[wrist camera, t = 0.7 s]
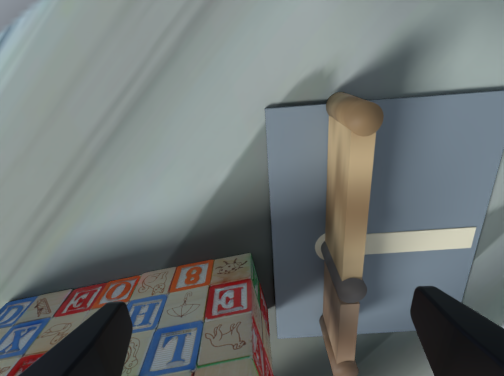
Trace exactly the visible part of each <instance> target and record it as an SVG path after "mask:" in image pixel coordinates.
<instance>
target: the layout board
mask: <svg viewBox="0 0 504 376" xmlns="http://www.w3.org/2000/svg"><path fill="white" fill-rule="evenodd" d="M367 101H370V102H373V103H376V104H377V105H379V106H380V107H381V109H382V111H383V115H384V118H383V123H382V125H381V127H380V128H379V129H378V130H377V131H376V139H375V149H374V160H373V170H372V181H371V191H370V201H369V212H368V222H367V233H366V243H365V254H364V264H363V275H362V279H363V281H364V283H365V284H366V286H367V294H366V296H365V297H364V298H363V299H362V300H360V301H359V303H360V306H359V317H358V327H357V334H367V333H385V332H402V331H416V329H415V327H414V324H413V322H412V319H411V315H410V308H411V303H412V299H413V294H414V290H415V288H416V287H418V286H435V287H437V288H438V289H440V290H442V291H443V292H445V293H447V294H448V295H450V296H451V297H453V298H455V299H456V300H458V301H460V302H462V298H463V295H464V291H465V287H466V284H467V280H468V276H469V273H470V269H471V266H472V262H473V258H474V255H475V251H476V247H477V244H478V240H479V237H480V233H481V229H482V226H483V222H484V218H485V215H486V211H487V208H488V204H489V200H490V197H491V193H492V189H493V186H494V182H495V179H496V175H497V171H498V168H499V164H500V160H501V157H502V153H503V150H504V90H498V91H484V92H471V93H458V94H445V95H432V96H419V97H406V98H392V99H379V100H367ZM265 119H266V137H267V156H268V174H269V192H270V211H271V229H272V248H273V266H274V284H275V303H276V321H277V337H278V339H281V338H298V337H315V336H323V334H322V331H321V327H320V323H319V319H320V317H321V316H322V315H323V292H324V261H325V260H324V257H323V255H322V252H321V245H322V243H323V242H324V241H325V225H326V192H327V159H328V126H329V115H328V113H327V111H326V104H314V105H300V106H287V107H274V108H265Z"/></svg>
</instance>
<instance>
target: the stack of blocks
mask: <svg viewBox="0 0 504 376" xmlns="http://www.w3.org/2000/svg"><path fill="white" fill-rule="evenodd" d="M116 301H123V302H125V303H126V305H127V308H128V311H129V314H130V317H131V321H132V324H133V331H132V336H131V340H130V344H129V348H128V352H127V356H126V359H125V363H124V367H123V371H122V375H121V376H274V375H273V367H272V357H271V347H270V339H269V338H270V333H269V322H268V309H267V306H266V302H265V299H264V295H263V292H262V288H261V285H260V283H259V280H258V277H257V273H256V269H255V266H254V262H253V259H252V255H251V253H247V254H242V255H237V256H231V257H226V258H221V259H216V260H207V261H202V262H197V263H192V264H187V265H182V266H178V267H172V268H166V269H161V270H156V271H151V272H146V273H143V274H142V275H139V276H134V277H129V278H124V279H119V280H114V281H109V282H108V283H102V284H97V285H92V286H88V287H83V288H78V289H75V290H73V289H68V290H64V291H59V292H54V293H49V294H44V295H40V296H35V297H30V298H25V299H21V300H16V301H11V302H8V303H6V304H5V305H4V306H3V307H2V308H1V309H0V376H18V375H19V374H21V373H22V372H23V371H24V370H25V369H27V368H28V367H29V366H30V365H31V364H33V363H34V362H35V361H36V360H38V359H39V358H40V357H41V356H42V355H44V354H45V353H46V352H47V351H49V350H50V349H51V348H52V347H53V346H55V345H56V344H57V343H58V342H60V341H61V340H62V339H63V338H64V337H66V336H67V335H68V334H69V333H71V332H72V331H73V330H74V329H75V328H77V327H78V326H79V325H80V324H82V323H83V322H84V321H85V320H86V319H88V318H89V317H90V316H91V315H93V314H94V313H95V312H96V311H97V310H99V309H100V308H101V307H102V306H104V305H105V304H106V303H108V302H116Z"/></svg>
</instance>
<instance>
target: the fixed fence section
mask: <svg viewBox="0 0 504 376" xmlns="http://www.w3.org/2000/svg"><path fill="white" fill-rule="evenodd" d="M359 306H360V303H359V301H358V302H355V303H346V302H343V301H341V300H340V299H339V297H338V295H337V292H336V289H335V287H334V284H333V281H332V279H331V276H330V273H329V271H328V268H327V265H326V263H325V261H324V292H323V315H322V316H321V317H320V319H319V323H320V327H321V331H322V334H323V338H324V342H325V346H326V350H327V353H328V357H329V361H330V365H331V368H332V372H333V376H357V375H358V373H359V370H358V367H357V364H356V362H355V348H356V338H357V327H358V317H359Z"/></svg>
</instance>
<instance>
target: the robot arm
mask: <svg viewBox="0 0 504 376" xmlns="http://www.w3.org/2000/svg"><path fill="white" fill-rule="evenodd" d="M410 315H411V319H412V322H413V324H414V327H415V329H416V332H417V334H418V337H419V339H420V342H421V344H422V346H423V349H424V351H425V354H426V356H427V359H428V361H429V364H430V366H431V369H432V371H433V373H434V376H504V329H503V328H502V327H500V326H499V325H497V324H495V323H494V322H492V321H490V320H489V319H487V318H486V317H484V316H482V315H481V314H479V313H477V312H476V311H474V310H473V309H471V308H469V307H468V306H466V305H464V304H463V303H461V302H460V301H458V300H456V299H455V298H453V297H451V296H450V295H448V294H447V293H445V292H443V291H442V290H440V289H438V288H437V287H435V286H418V287H416V288H415V290H414V294H413V299H412V303H411V308H410ZM132 331H133V324H132V321H131V317H130V314H129V311H128V308H127V305H126V303H125V302H123V301H116V302H108V303H106V304H105V305H104V306H102V307H101V308H100V309H99V310H97V311H96V312H95V313H94V314H93V315H91V316H90V317H89V318H88V319H86V320H85V321H84V322H83V323H82V324H80V325H79V326H78V327H77V328H75V329H74V330H73V331H72V332H71V333H69V334H68V335H67V336H66V337H64V338H63V339H62V340H61V341H60V342H58V343H57V344H56V345H55V346H53V347H52V348H51V349H50V350H49V351H47V352H46V353H45V354H44V355H42V356H41V357H40V358H39V359H38V360H36V361H35V362H34V363H33V364H31V365H30V366H29V367H28V368H27V369H25V370H24V371H23V372H22V373H21V374H19V375H18V376H121V375H122V371H123V367H124V363H125V359H126V356H127V352H128V348H129V344H130V340H131V336H132Z"/></svg>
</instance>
